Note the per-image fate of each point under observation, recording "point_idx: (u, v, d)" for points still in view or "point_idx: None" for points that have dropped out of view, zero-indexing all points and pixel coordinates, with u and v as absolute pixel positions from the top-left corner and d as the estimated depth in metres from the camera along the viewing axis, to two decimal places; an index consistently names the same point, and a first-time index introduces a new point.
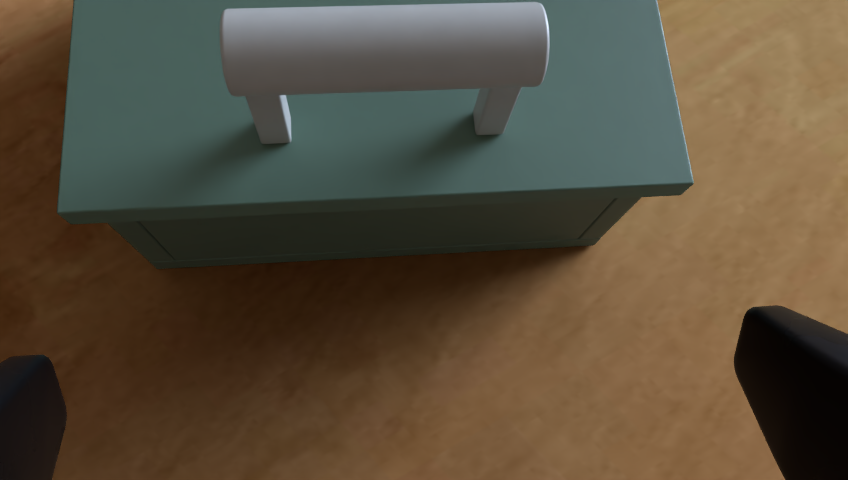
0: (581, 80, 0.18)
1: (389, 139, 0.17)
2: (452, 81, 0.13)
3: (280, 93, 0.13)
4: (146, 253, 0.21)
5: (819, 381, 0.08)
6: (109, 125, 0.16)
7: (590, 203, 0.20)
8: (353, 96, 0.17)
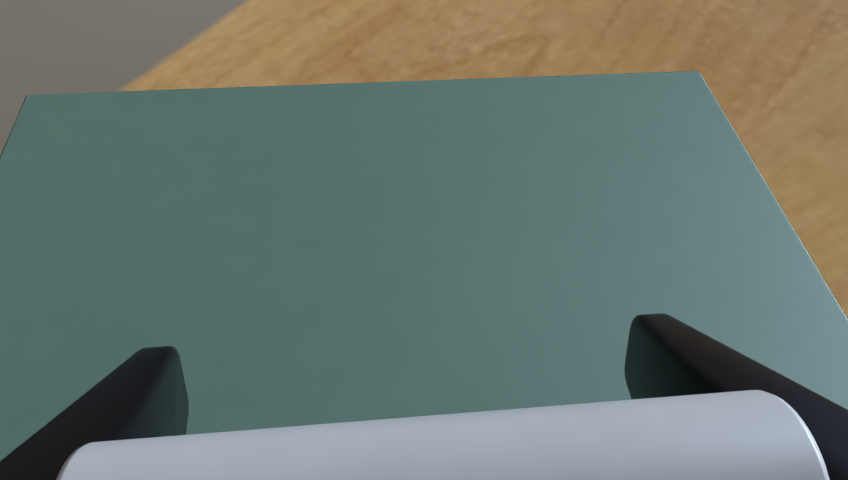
0: None
1: None
2: None
3: None
4: None
5: (686, 391, 0.08)
6: None
7: None
8: None
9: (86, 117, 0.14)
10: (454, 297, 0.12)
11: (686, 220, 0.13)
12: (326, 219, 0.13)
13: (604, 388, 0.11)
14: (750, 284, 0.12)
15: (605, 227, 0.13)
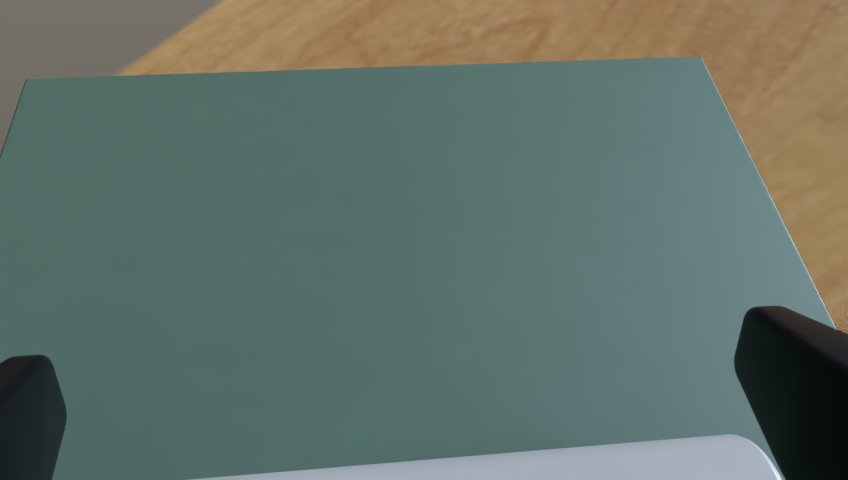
0: None
1: None
2: None
3: None
4: None
5: (819, 381, 0.08)
6: None
7: None
8: None
9: (87, 104, 0.14)
10: (453, 297, 0.12)
11: (681, 219, 0.13)
12: (328, 215, 0.13)
13: (595, 391, 0.11)
14: (740, 286, 0.12)
15: (601, 225, 0.13)
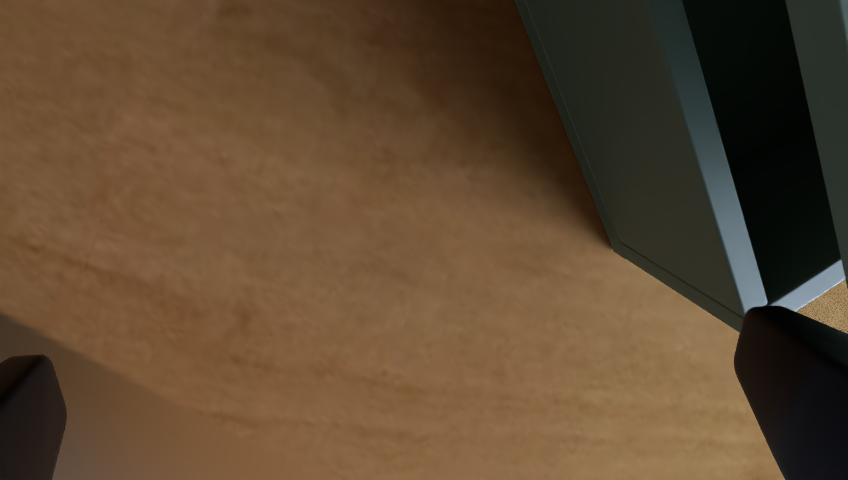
0: None
1: None
2: None
3: None
4: None
5: (819, 381, 0.08)
6: None
7: (679, 265, 0.20)
8: None
9: None
10: None
11: None
12: None
13: None
14: None
15: None
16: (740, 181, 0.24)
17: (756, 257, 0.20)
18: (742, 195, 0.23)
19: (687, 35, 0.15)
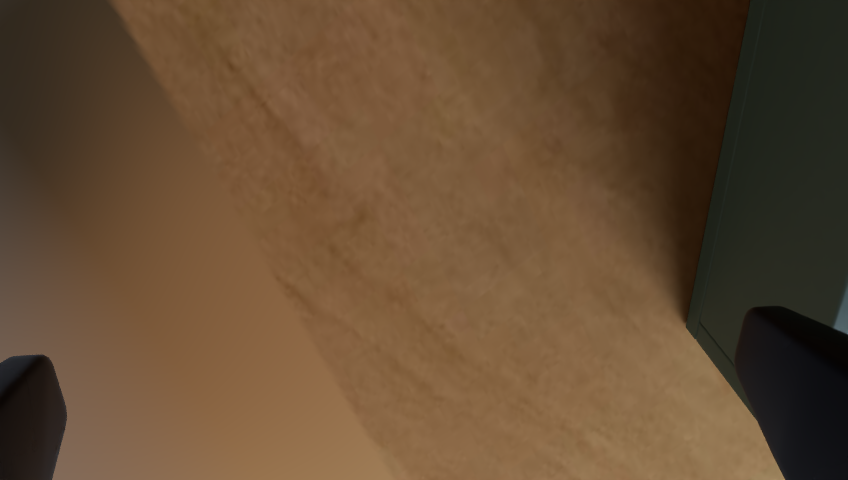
0: None
1: None
2: None
3: None
4: None
5: (819, 381, 0.08)
6: None
7: None
8: None
9: None
10: None
11: None
12: None
13: None
14: None
15: None
16: None
17: None
18: None
19: None
